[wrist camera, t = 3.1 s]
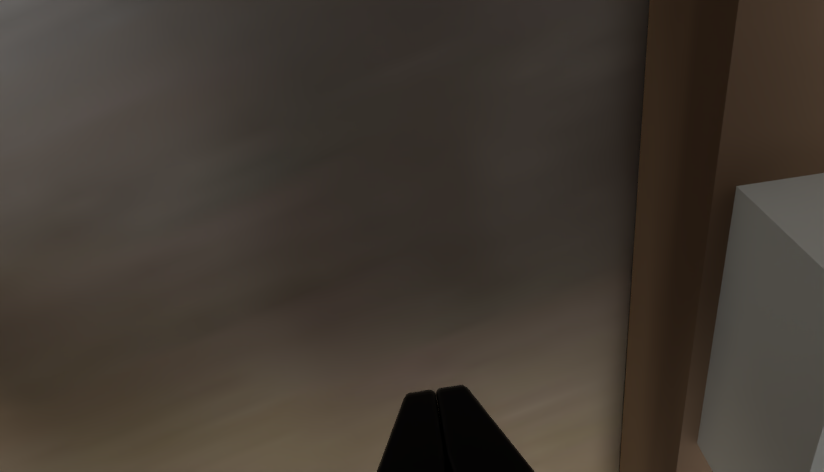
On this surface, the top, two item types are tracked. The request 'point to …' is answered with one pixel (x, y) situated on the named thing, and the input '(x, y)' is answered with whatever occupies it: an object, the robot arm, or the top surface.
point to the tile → (769, 334)
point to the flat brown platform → (706, 191)
